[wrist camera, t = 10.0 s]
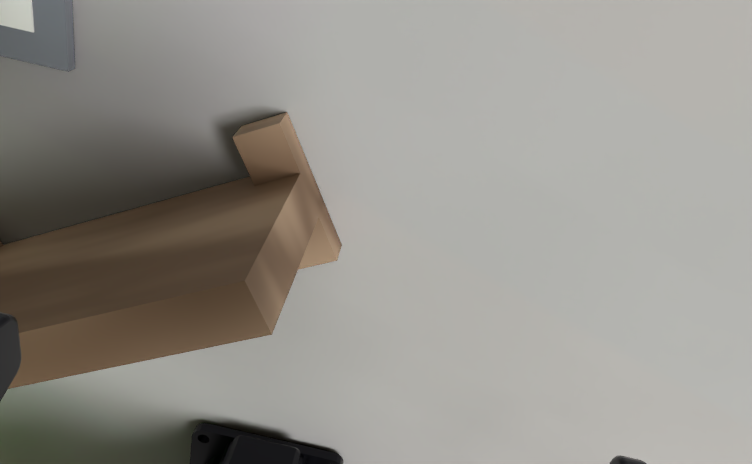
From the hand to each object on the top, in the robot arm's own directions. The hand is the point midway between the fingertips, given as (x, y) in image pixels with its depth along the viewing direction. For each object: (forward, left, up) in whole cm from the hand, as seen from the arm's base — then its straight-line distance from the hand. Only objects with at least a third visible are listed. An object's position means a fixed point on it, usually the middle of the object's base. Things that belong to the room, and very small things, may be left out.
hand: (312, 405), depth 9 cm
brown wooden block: (-6, +8, -12) cm, 16 cm away
